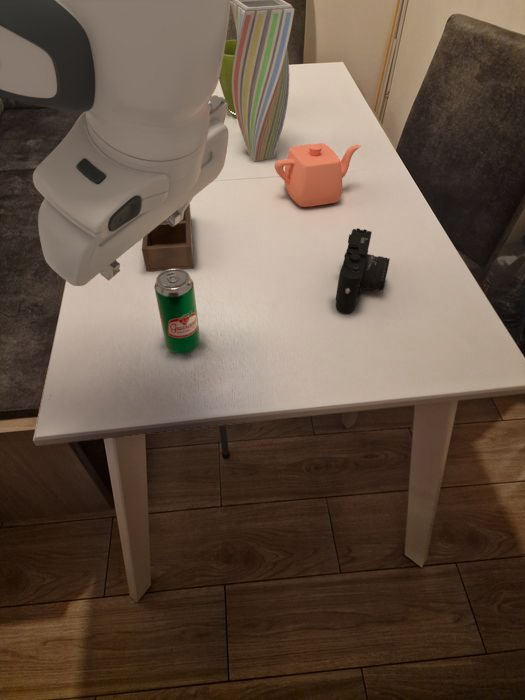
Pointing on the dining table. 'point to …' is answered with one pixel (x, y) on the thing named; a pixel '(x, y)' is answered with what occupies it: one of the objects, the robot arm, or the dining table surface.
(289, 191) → the teapot
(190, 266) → the caddy
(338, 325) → the dining table surface
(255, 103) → the vase
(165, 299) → the soda can
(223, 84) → the flower pot
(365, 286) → the camera
